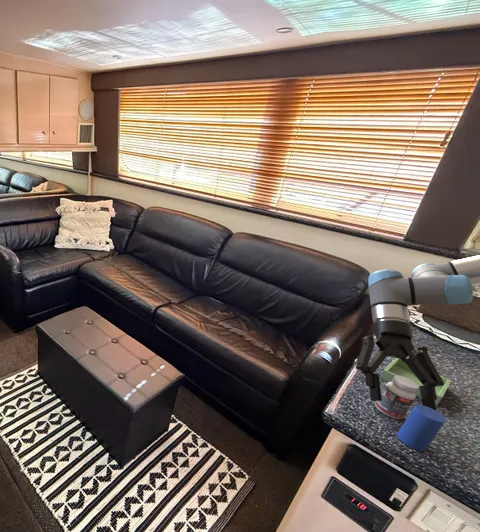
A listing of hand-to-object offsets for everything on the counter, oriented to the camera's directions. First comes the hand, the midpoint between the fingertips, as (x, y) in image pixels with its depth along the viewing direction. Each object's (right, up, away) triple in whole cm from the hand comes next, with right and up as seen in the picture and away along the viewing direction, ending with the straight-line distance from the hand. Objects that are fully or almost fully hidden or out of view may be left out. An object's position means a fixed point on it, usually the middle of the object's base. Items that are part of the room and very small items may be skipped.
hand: (402, 406), depth 80 cm
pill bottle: (0, -3, +4) cm, 5 cm away
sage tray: (+20, 0, +17) cm, 26 cm away
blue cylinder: (-3, -6, -5) cm, 8 cm away
